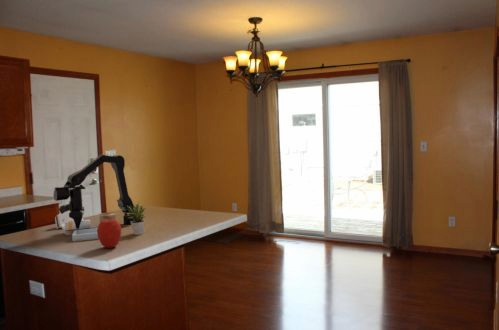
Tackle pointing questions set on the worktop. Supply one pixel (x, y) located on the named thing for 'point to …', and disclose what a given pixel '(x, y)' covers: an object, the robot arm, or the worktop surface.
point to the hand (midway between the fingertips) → (77, 227)
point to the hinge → (63, 219)
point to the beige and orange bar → (71, 225)
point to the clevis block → (102, 217)
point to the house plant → (137, 219)
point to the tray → (85, 234)
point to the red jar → (109, 233)
